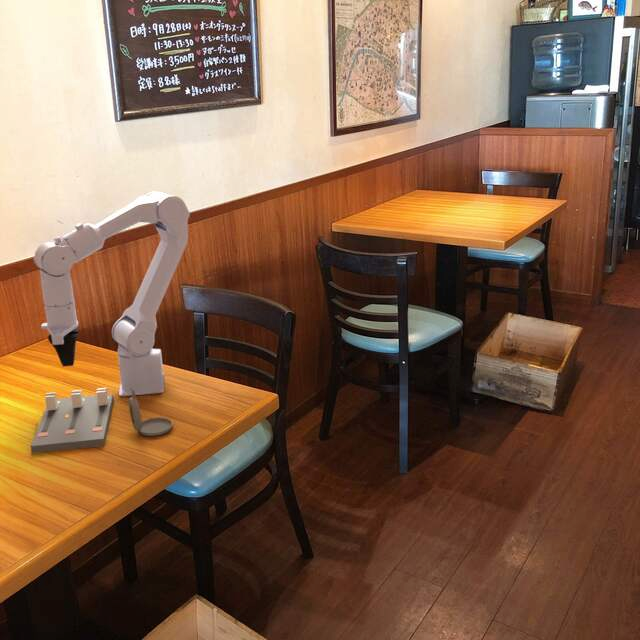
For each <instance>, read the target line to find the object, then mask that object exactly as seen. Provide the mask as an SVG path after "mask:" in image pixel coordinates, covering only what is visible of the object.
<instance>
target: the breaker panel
mask: <svg viewBox="0 0 640 640" xmlns="http://www.w3.org/2000/svg"><path fill="white" fill-rule="evenodd" d="M107 396H108V403H107V405H102V406H98V401H97V394H96V395H84V396H83V395H82V398H83V405H82V407H79V408H73V406H72V399H71V397H64V398H57V402H58V407H57V409H56V410H48V411H47V407H46V406H45V410H44V412H43V414H42V417H41V419H40V422H39V424H38V427H37V429H36V431H35V434H34V437H33V439H32V442H31V443H30V451H31V454H37V452H39V453H48V452H55V451H56V450H58V451H66V450H76V449H84V448H85V449H86V448H94V447H95V448H96V447H104V446H105V444H106V440H107V435H108V430H109V425H110V420H111V415H112V410H113V405H114V400H115V399H114V394H113V393H107Z"/></svg>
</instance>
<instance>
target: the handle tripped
mask: <svg viewBox="0 0 640 640" xmlns="http://www.w3.org/2000/svg"><path fill="white" fill-rule="evenodd" d="M70 396H71V397H70V398H71V399H72V406H73V408H79V407H82V405H83V398H82V397H83V392H82V389H75V390H71V392H70Z"/></svg>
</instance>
